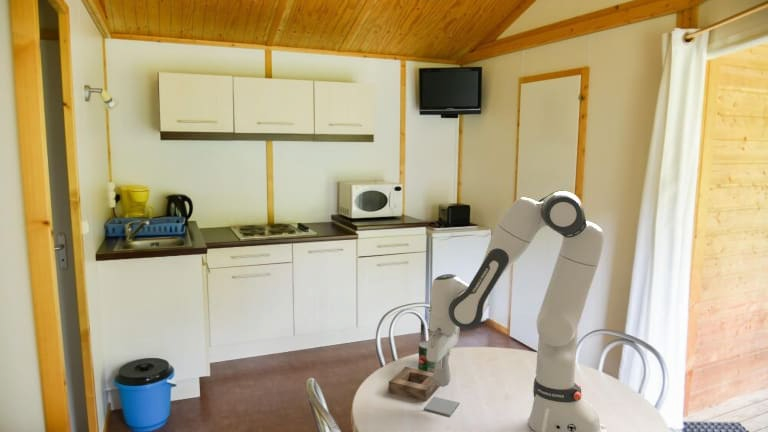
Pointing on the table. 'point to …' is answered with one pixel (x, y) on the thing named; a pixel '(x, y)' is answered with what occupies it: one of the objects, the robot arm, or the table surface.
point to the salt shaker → (442, 373)
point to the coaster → (441, 406)
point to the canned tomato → (425, 358)
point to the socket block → (413, 384)
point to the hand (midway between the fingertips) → (442, 365)
